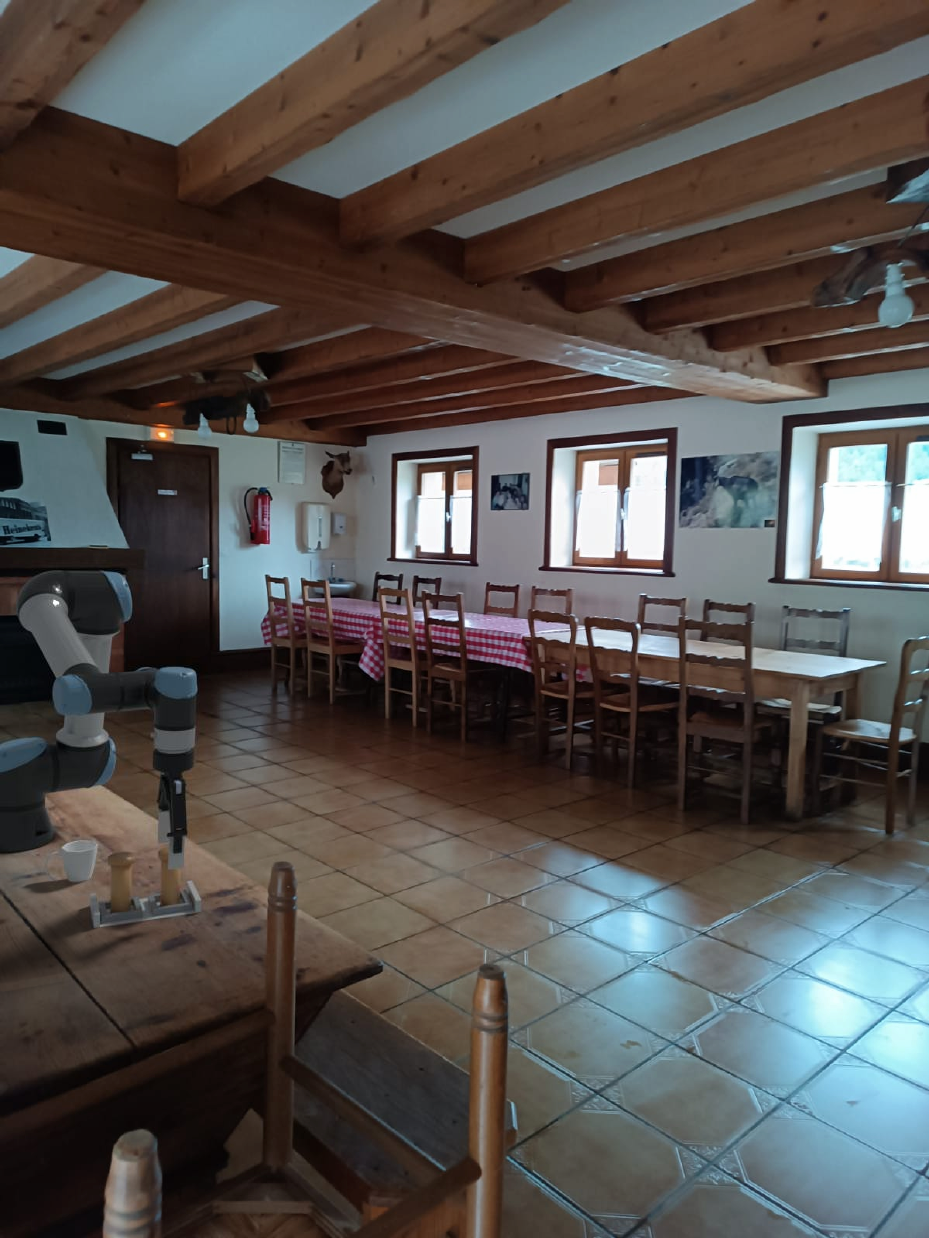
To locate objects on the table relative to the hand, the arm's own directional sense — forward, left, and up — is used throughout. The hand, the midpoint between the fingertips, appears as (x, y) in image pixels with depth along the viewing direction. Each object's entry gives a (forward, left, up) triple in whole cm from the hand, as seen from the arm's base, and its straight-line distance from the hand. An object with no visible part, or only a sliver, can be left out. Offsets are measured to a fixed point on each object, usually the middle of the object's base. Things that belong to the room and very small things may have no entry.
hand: (170, 854), depth 166 cm
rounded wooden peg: (0, -9, -10) cm, 13 cm away
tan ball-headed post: (+1, 0, -10) cm, 10 cm away
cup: (-20, -16, -12) cm, 28 cm away
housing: (0, -4, -11) cm, 12 cm away
